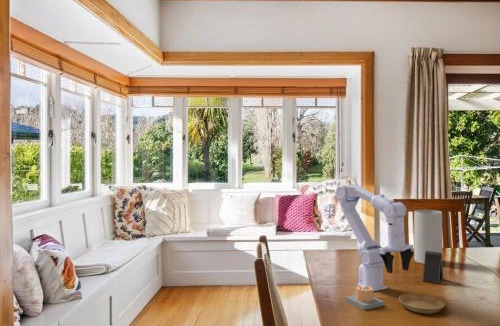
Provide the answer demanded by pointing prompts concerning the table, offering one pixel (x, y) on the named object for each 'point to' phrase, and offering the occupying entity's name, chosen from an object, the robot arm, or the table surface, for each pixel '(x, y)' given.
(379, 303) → the post base
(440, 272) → the phone stand
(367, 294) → the ring
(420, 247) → the cylinder vase
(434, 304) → the plant saucer
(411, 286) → the table surface
